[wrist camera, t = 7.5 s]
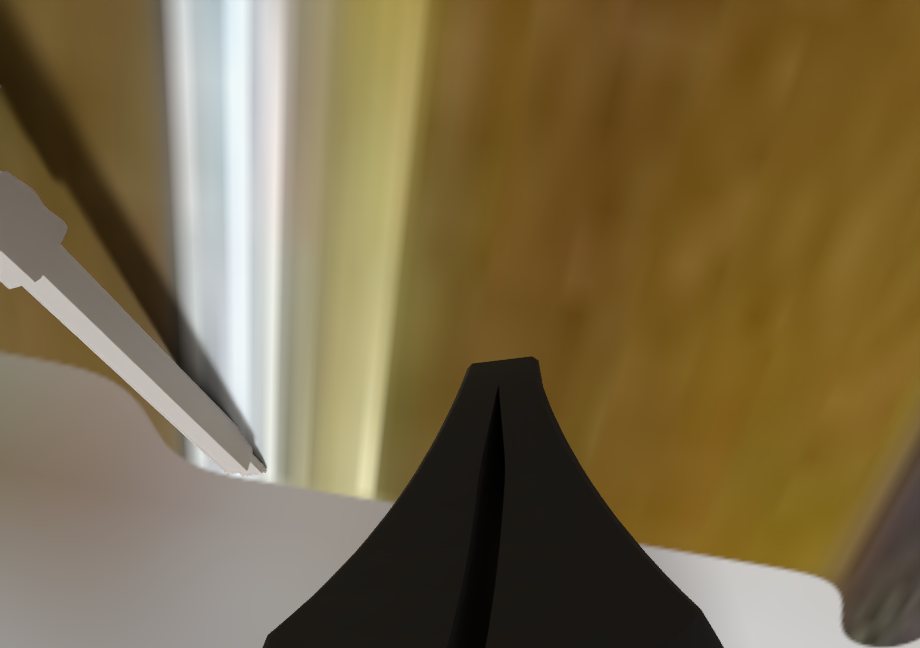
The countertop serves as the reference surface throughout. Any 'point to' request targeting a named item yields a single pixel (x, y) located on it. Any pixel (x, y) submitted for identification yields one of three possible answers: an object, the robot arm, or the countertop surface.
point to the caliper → (109, 326)
